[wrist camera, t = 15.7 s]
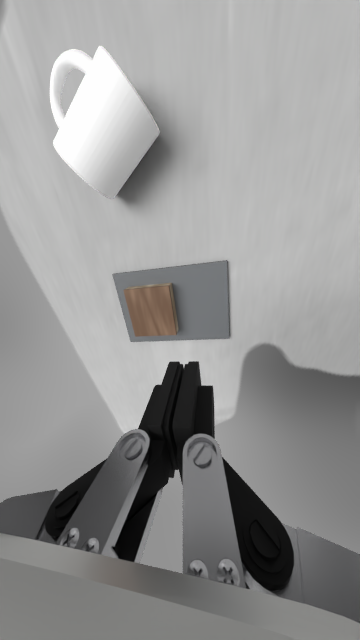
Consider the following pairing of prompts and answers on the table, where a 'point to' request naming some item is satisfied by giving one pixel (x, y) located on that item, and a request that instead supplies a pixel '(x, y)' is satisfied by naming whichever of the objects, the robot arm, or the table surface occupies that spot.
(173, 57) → the table surface
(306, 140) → the table surface
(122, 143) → the mug
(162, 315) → the tile
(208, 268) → the mat
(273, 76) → the table surface
